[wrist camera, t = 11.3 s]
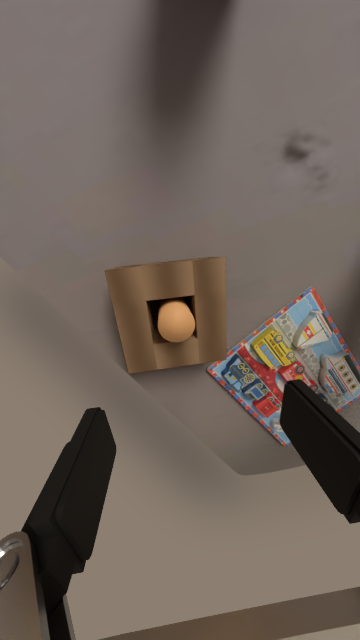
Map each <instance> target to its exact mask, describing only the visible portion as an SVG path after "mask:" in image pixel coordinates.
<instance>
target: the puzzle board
mask: <svg viewBox="0 0 360 640" xmlns="http://www.w3.org/2000/svg"><path fill="white" fill-rule="evenodd" d="M207 371H208V372H209V373H210V374H211V375H212V376H213V377H214V378H215V379H216V380H217V381H218V382H219V383H220V384H221V385H222V386H223V387H224V388H225V389H227V390H228V391H229V392H230V393H231V394H232V395H233V396H234V397H235V398H236V399H237V400H238V401H239V402H240V403H241V404H242V405H243V406H244V407H245V408H246V409H247V410H248V411H249V412H250V413H251V414H252V415H253V416H254V417H255V418H256V419H257V420H258V421H259V422H260V423H261V424H262V425H263V426H264V427H265V428H266V429H267V430H268V431H269V432H270V433H271V434H272V435H273V436H274V437H275V438H276V439H277V440H278V441H279V442H280V443H281V444H283V445H284V446H288V445H290V444H291V442H290V440H289V439H288V437H287V436H286V434H285V433H284V431H283V430H282V428H281V426H280V422H279V420H280V413H281V406H282V398H283V391H284V385H285V384H286V383H287V381H289V380H296V379H301V380H302V381H303V382H305V383H306V384H307V385H308V386H309V387H310V388H311V389H312V390H313V391H314V392H315V393H317V394H318V395H319V396H320V397H321V398H322V399H323V400H324V401H325V402H326V403H327V404H329V405H330V406H331V407H332V408H333V409H334V410H335V411H336V412H337V413H338V412H339V411H341V410H342V409H344V408H345V407H347V406H348V405H350V404H351V403H353V402H354V401H356V400H357V399H359V398H360V367H359V365H358V363H357V362H356V360H355V358H354V356H353V355H352V353H351V351H350V349H349V348H348V346H347V344H346V343H345V341H344V339H343V337H342V336H341V334H340V332H339V330H338V329H337V327H336V325H335V323H334V322H333V320H332V318H331V317H330V315H329V313H328V311H327V310H326V308H325V306H324V304H323V303H322V301H321V299H320V297H319V296H318V294H317V292H316V291H315V289H314V287H308V288H307V289H306V290H305V291H303V292H302V293H301V294H300V295H298V296H297V297H296V298H295V299H293V300H292V301H291V302H290V303H288V304H287V305H286V306H285V307H283V308H282V309H281V310H279V311H278V312H277V313H276V314H274V315H273V316H272V317H271V318H269V319H268V320H267V321H266V322H264V323H263V324H262V325H260V326H259V327H258V328H257V329H255V330H254V331H253V332H252V333H250V334H249V335H248V336H246V337H245V338H244V339H243V340H241V341H240V342H239V343H238V344H236V345H235V346H234V347H233V348H231V349H230V350H229V351H227V360H221V361H215V362H213V363H212V364H211V365H209V366H208V367H207Z"/></svg>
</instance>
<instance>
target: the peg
mask: <svg viewBox="0 0 360 640" xmlns="http://www.w3.org/2000/svg"><path fill="white" fill-rule="evenodd" d="M194 329H195V320H194V317H193V315H192V314H191V312H190V310H189V308H188V306H187V304H186V302H185V300H184V299H183V298H182V297H174V298H166V299H161V301H160V303H159V312H158V330H159V332H160V334H161V336H162V337H163V338H164V339H166V340H168V341H170V342H182V341H184V340H186V339H188V338H189V337H190V336H191V335H192V333H193V332H194Z"/></svg>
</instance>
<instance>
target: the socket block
mask: <svg viewBox="0 0 360 640" xmlns="http://www.w3.org/2000/svg"><path fill="white" fill-rule="evenodd" d="M105 275H106V280H107V284H108V288H109V292H110V296H111V301H112V305H113V309H114V313H115V317H116V322H117V326H118V330H119V334H120V338H121V343H122V347H123V351H124V355H125V359H126V364H127V368H128V372H129V374H131V373H138V372H145V371H152V370H159V369H165V368H172V367H179V366H186V365H193V364H200V363H207V362H214V361H221V360H227V344H226V258H224V257H208V258H198V259H189V260H180V261H170V262H161V263H151V264H142V265H133V266H123V267H116V268H112V269H108V270H105ZM183 296H188V297H189V309H190V312H191V314H192V315H193V317H194V320H195V329H194V332H193V333H192V335H191V336H190V337H189V338H188V339H186V340H184V341H182V342H170V341H168V340H166V339H164V338H163V337H162V336H161V334H160V332H159V330H158V327H155V326H154V320H153V314H152V307H151V301H150V300H157V299H166V298H174V297H183Z"/></svg>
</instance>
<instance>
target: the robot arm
mask: <svg viewBox="0 0 360 640" xmlns="http://www.w3.org/2000/svg"><path fill="white" fill-rule="evenodd" d="M279 422H280V426H281V428H282V430H283V431H284V433H285V434H286V436H287V437H288V439H289V440H290V442H291V443H292V444H293V446H294V447H295V449H296V450H297V452H298V453H299V455H300V456H301V458H302V459H303V461H304V462H305V464H306V465H307V467H308V468H309V470H310V471H311V473H312V474H313V475H314V477H315V479H316V480H317V482H318V483H319V485H320V486H321V487H322V489H323V490H324V492H325V493H326V495H327V496H328V498H329V499H330V501H331V502H332V503H333V505H334V507H335V508H336V509H337V511H338V512H340V513H341V514H344V516H345V517H346V519H347V520H348V522H349V523H356V522H360V433H359V432H358V431H357V430H356V429H355V428H354V427H353V426H351V425H350V424H349V423H348V422H347V421H346V420H345V419H344V418H343V417H342V416H341V415H339V414H338V413H337V412H336V411H335V410H334V409H333V408H332V407H331V406H330V405H329V404H327V403H326V402H325V401H324V400H323V399H322V398H321V397H320V396H319V395H318V394H317V393H315V392H314V391H313V390H312V389H311V388H310V387H309V386H308V385H307V384H306V383H305V382H303V381H302V380H301V379H296V380H289V381H287V383H286V384H285V385H284V391H283V398H282V406H281V413H280V420H279ZM115 455H116V444H115V441H114V438H113V435H112V432H111V429H110V426H109V423H108V420H107V417H106V414H105V411H104V410H101V408H100V407H97V408H90V409H87V410H86V411H85V413H84V415H83V417H82V419H81V421H80V423H79V425H78V427H77V429H76V431H75V433H74V435H73V437H72V439H71V441H70V442H68V443H67V444H66V445H65V447H64V449H63V450H62V453H61V454H60V456H59V458H58V460H57V462H56V464H55V466H54V468H53V470H52V472H51V474H50V476H49V478H48V479H47V481H46V484H45V485H44V487H43V490H42V491H41V493H40V495H39V497H38V499H37V501H36V503H35V505H34V507H33V509H32V511H31V513H30V515H29V516H28V518H27V520H26V522H25V524H24V526H23V528H22V530H21V531H19V532H14V533H12V534H9V535H7V536H6V537H4V538H3V539H1V540H0V640H76V638H75V633H74V629H73V624H72V619H71V615H70V610H69V606H68V601H67V596H66V593H67V590H68V586H69V582H70V580H71V576H72V574H76V573H81V572H83V571H84V567H85V563H86V560H88V559H89V558H90V556H91V554H92V551H93V547H94V543H95V539H96V534H97V530H98V526H99V522H100V518H101V514H102V509H103V505H104V501H105V497H106V493H107V489H108V484H109V480H110V476H111V472H112V468H113V463H114V459H115ZM99 640H360V587H356V588H351V589H346V590H341V591H335V592H330V593H325V594H319V595H314V596H309V597H304V598H299V599H294V600H289V601H284V602H279V603H273V604H268V605H263V606H258V607H253V608H249V609H243V610H238V611H233V612H228V613H223V614H218V615H213V616H208V617H203V618H198V619H193V620H189V621H184V622H179V623H174V624H169V625H164V626H160V627H155V628H150V629H145V630H140V631H135V632H130V633H126V634H121V635H117V636H112V637H108V638H104V639H99Z"/></svg>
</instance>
